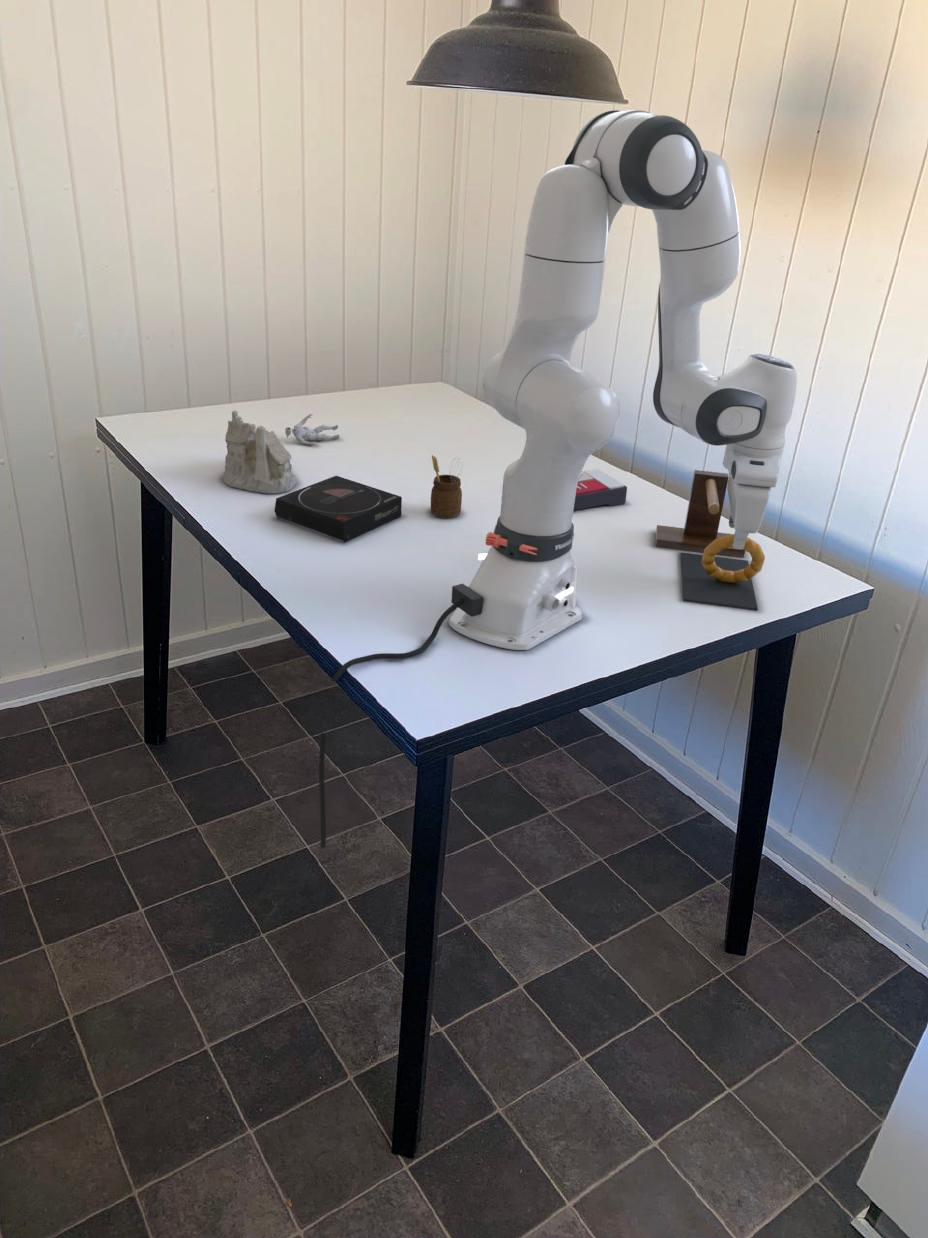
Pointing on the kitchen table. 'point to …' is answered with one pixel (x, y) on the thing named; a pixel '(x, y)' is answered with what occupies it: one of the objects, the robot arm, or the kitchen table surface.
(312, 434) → the soldier figure
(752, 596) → the mat
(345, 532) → the portable cd player
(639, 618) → the kitchen table surface
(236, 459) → the ceramic cottage
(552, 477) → the robot arm
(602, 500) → the calculator
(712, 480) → the rack
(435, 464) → the utensil holder
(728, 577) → the ring
